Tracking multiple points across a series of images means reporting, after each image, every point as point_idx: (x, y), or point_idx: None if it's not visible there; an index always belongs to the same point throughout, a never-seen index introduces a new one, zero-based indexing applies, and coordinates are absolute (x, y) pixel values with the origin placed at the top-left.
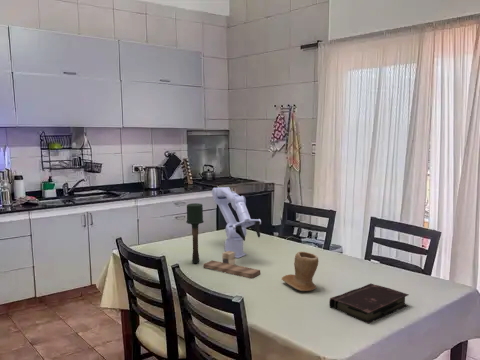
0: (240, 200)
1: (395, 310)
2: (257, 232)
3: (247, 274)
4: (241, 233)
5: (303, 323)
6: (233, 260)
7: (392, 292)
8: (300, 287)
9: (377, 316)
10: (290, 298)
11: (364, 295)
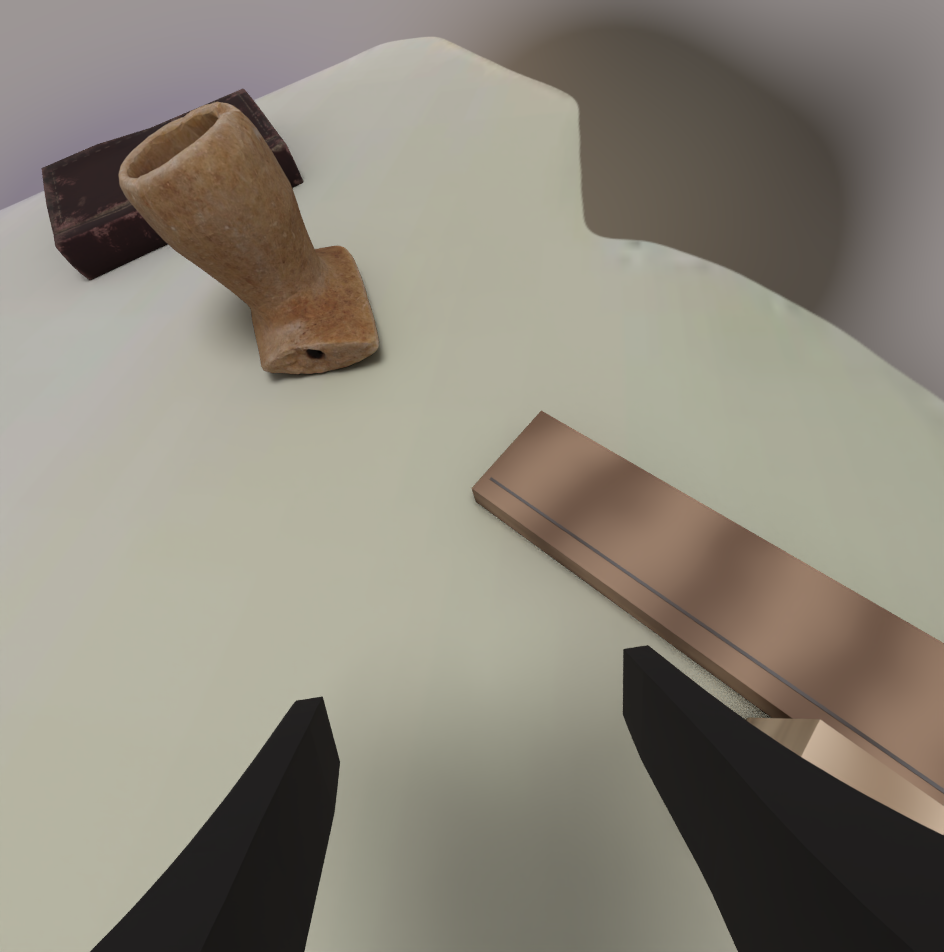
0: None
1: None
2: (299, 828)
3: (574, 435)
4: (753, 727)
5: (425, 111)
6: None
7: (67, 182)
8: (333, 249)
9: None
10: (404, 227)
11: None
